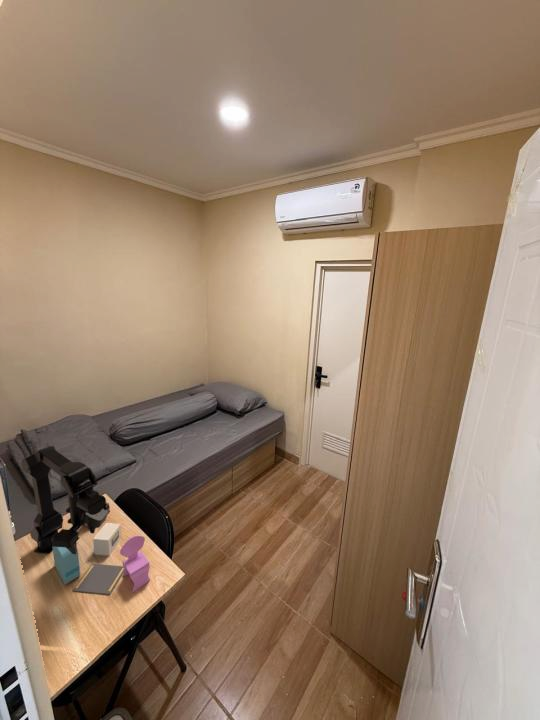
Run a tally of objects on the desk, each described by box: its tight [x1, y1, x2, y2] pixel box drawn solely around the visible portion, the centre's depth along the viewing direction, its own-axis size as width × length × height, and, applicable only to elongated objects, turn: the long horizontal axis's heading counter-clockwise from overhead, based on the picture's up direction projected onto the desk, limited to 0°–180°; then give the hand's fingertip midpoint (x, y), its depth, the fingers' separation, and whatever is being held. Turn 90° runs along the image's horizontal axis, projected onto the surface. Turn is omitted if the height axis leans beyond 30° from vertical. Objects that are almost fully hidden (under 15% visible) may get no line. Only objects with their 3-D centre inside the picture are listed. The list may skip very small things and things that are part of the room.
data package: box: [52, 547, 81, 585], centre depth 100 cm, size 12×4×12 cm, turn 51°
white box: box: [92, 522, 122, 557], centre depth 112 cm, size 6×8×7 cm
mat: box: [71, 562, 125, 596], centre depth 99 cm, size 13×10×1 cm
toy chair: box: [119, 535, 151, 593], centre depth 99 cm, size 8×9×15 cm
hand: (84, 542), depth 98 cm, fingers open, 8 cm apart
